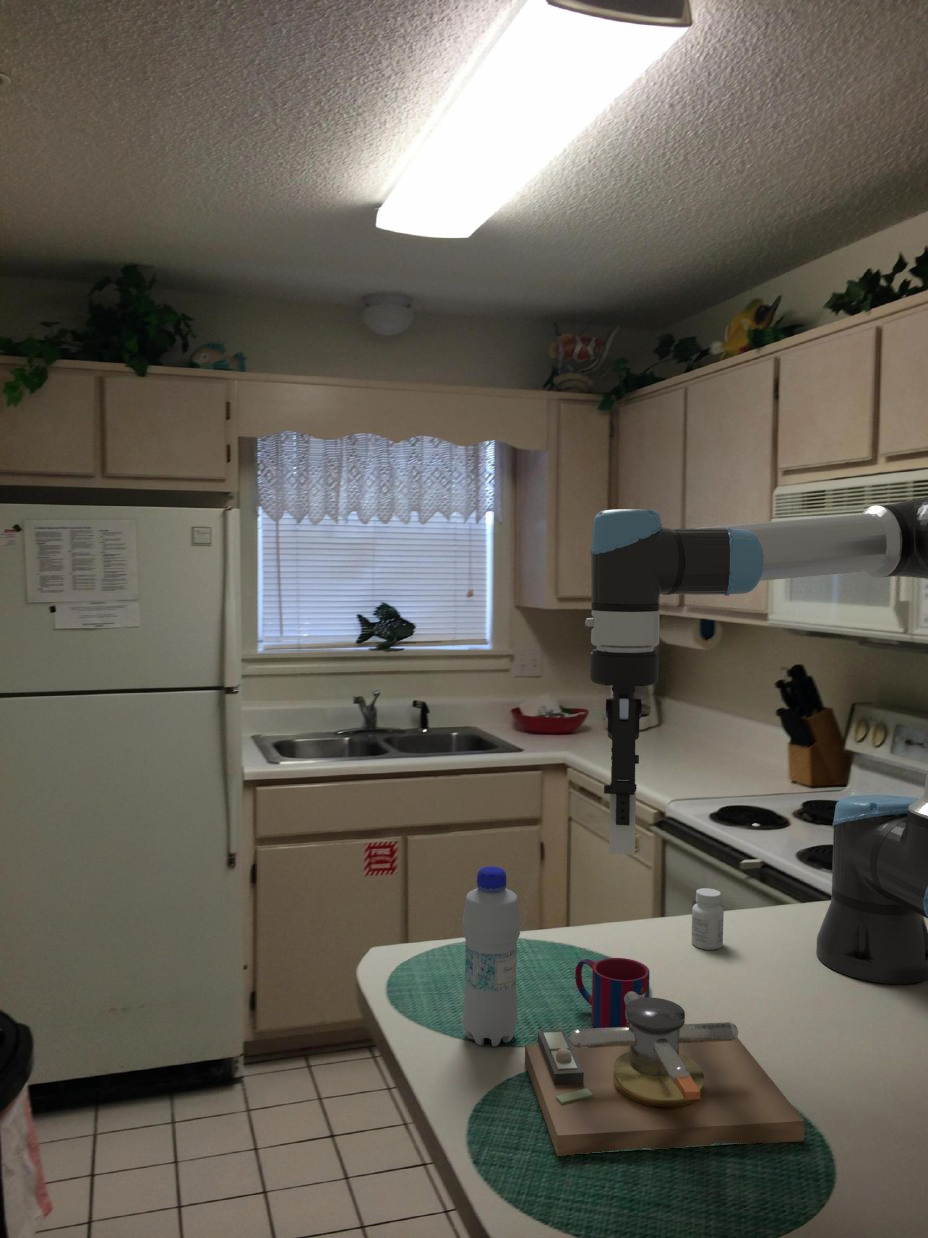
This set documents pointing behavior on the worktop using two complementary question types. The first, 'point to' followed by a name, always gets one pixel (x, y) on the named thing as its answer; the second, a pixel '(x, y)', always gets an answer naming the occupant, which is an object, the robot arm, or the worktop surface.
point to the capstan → (655, 1051)
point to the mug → (612, 988)
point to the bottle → (490, 958)
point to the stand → (608, 1120)
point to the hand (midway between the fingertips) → (621, 835)
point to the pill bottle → (707, 920)
